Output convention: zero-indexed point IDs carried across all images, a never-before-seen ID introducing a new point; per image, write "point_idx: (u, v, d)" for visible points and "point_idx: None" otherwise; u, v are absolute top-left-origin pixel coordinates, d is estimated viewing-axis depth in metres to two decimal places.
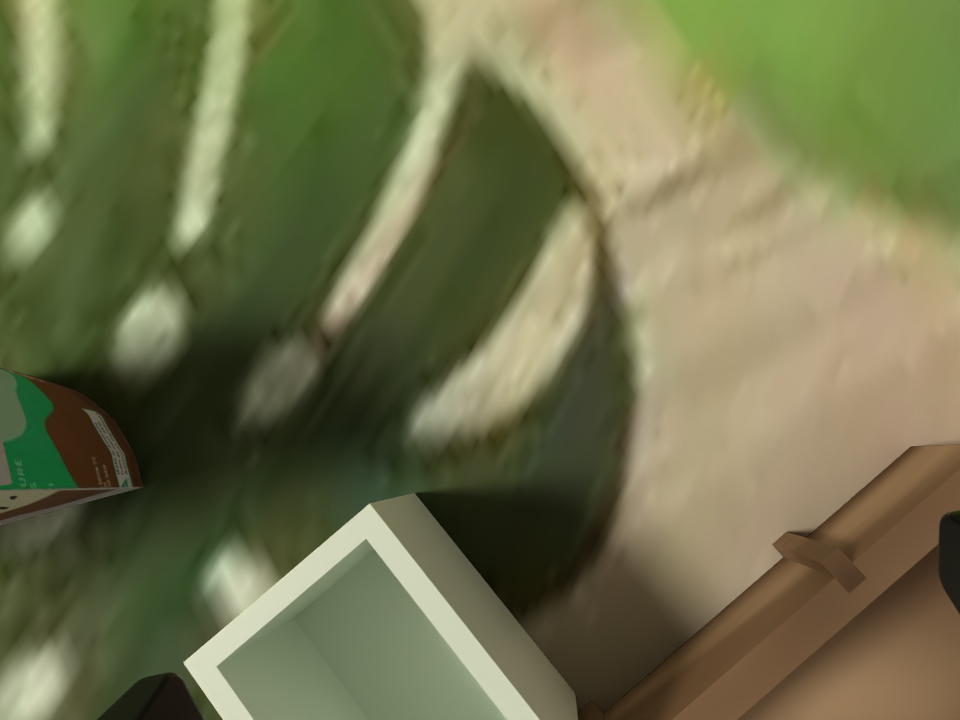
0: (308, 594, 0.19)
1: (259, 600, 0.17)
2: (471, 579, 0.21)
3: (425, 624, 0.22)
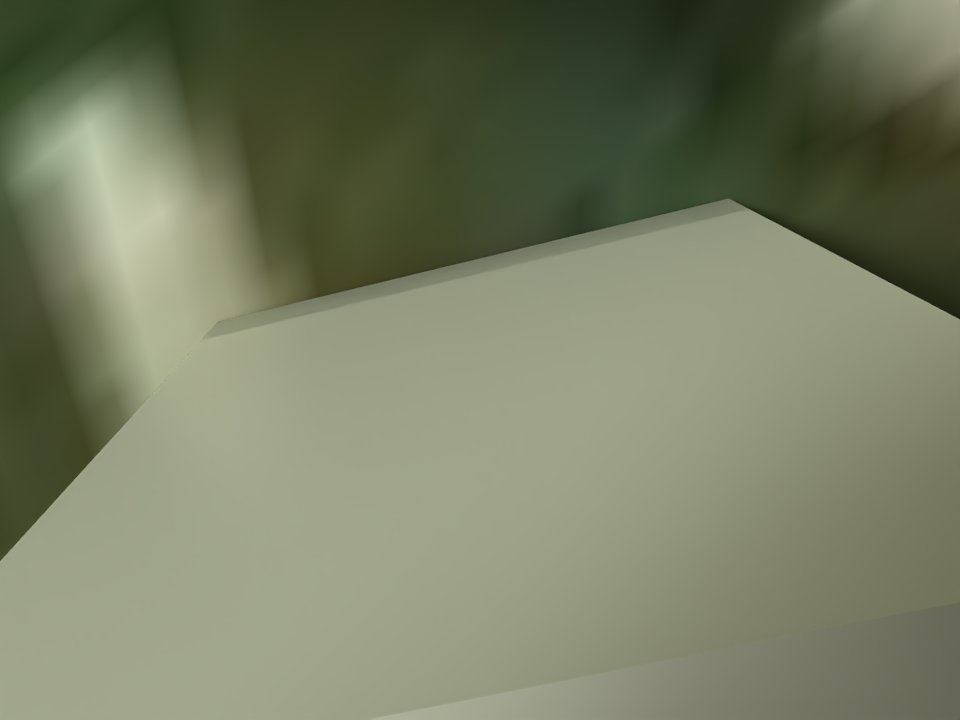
0: None
1: None
2: None
3: None
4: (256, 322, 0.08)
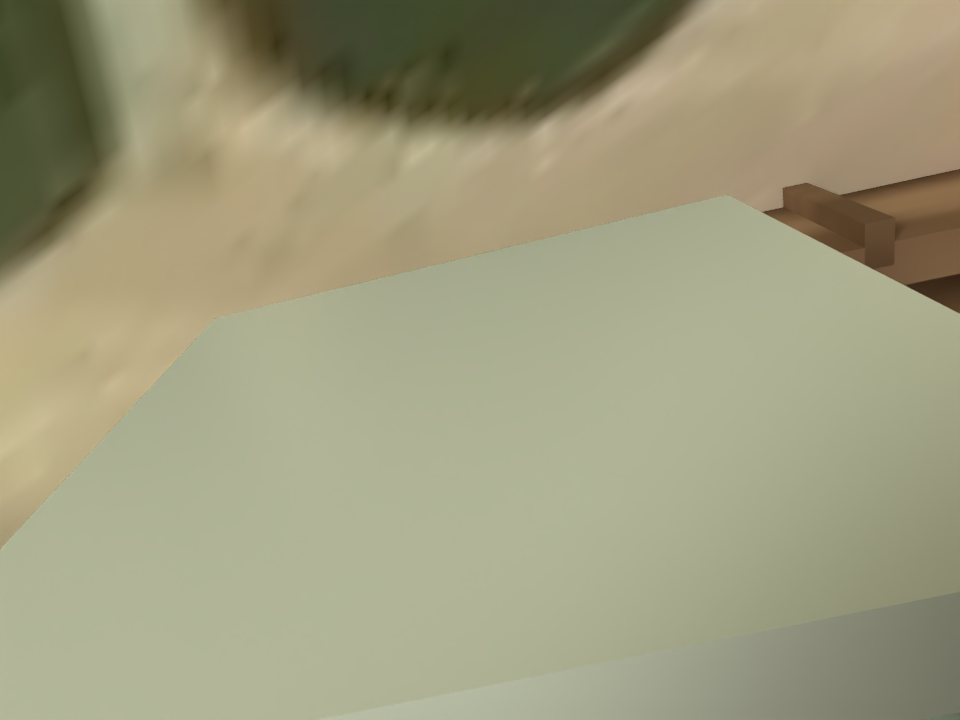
0: None
1: None
2: None
3: None
4: (253, 318, 0.08)
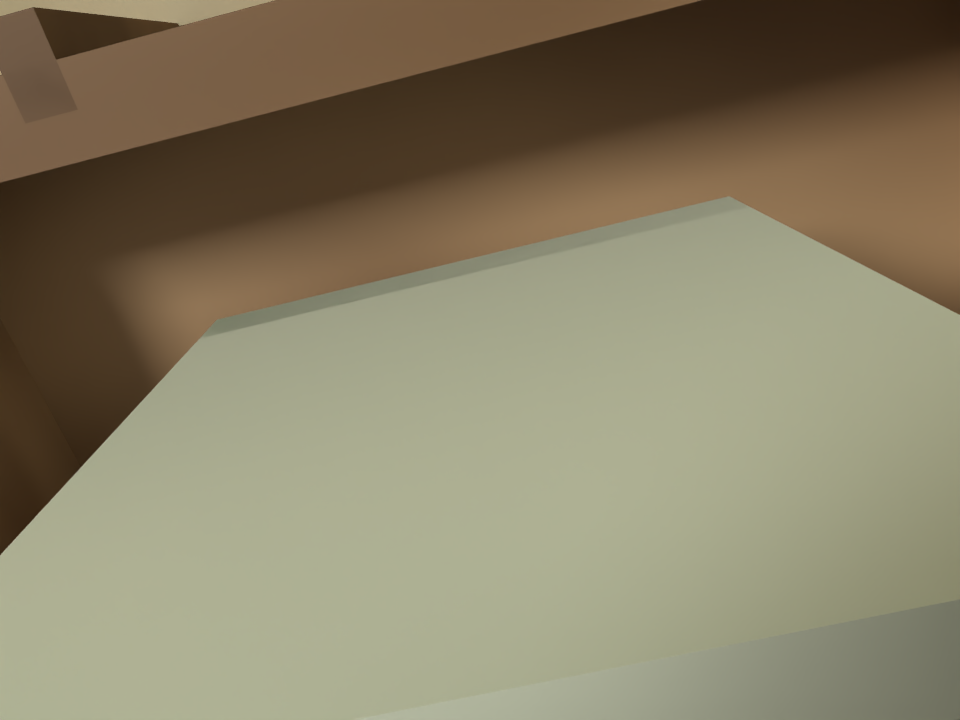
0: None
1: None
2: None
3: None
4: (255, 320, 0.08)
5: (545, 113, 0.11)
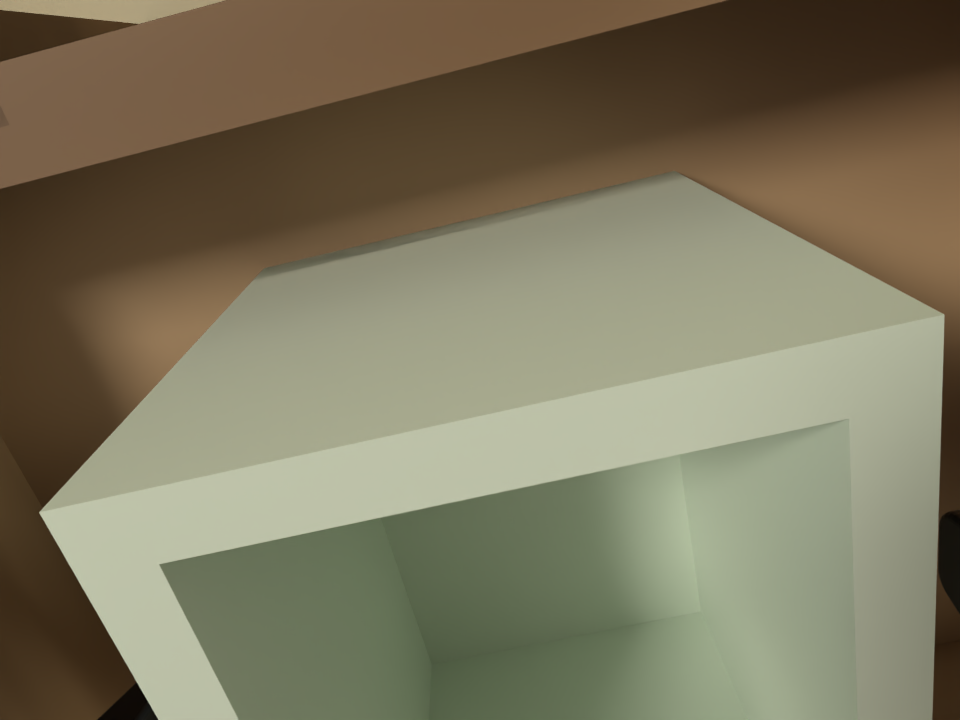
0: None
1: (386, 447, 0.05)
2: None
3: None
4: (296, 266, 0.10)
5: (552, 124, 0.10)
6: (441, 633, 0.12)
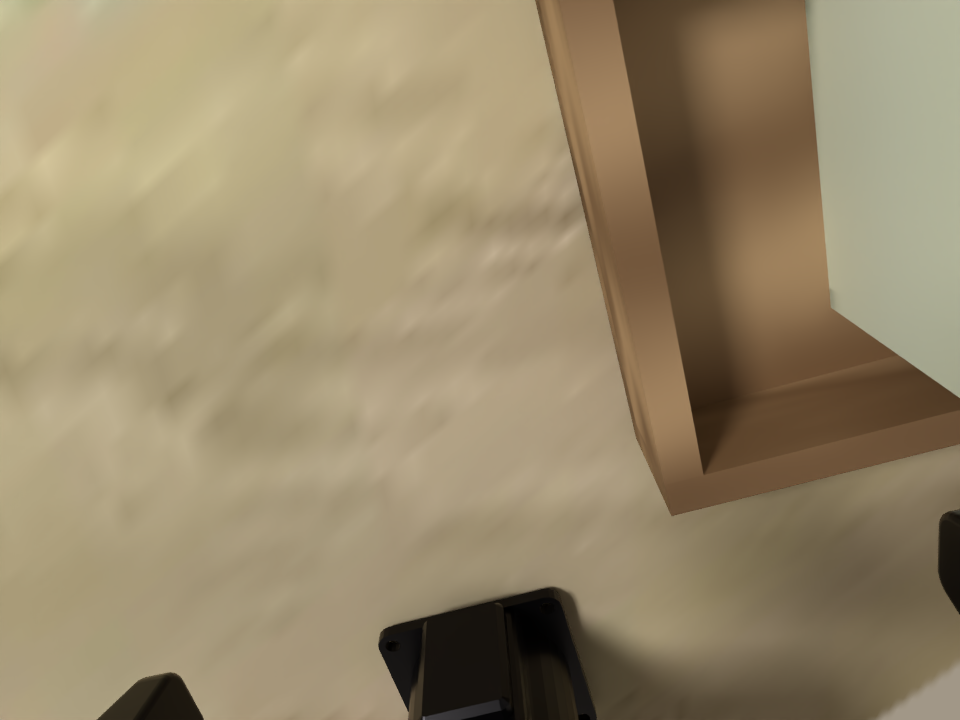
0: None
1: None
2: None
3: None
4: None
5: None
6: None
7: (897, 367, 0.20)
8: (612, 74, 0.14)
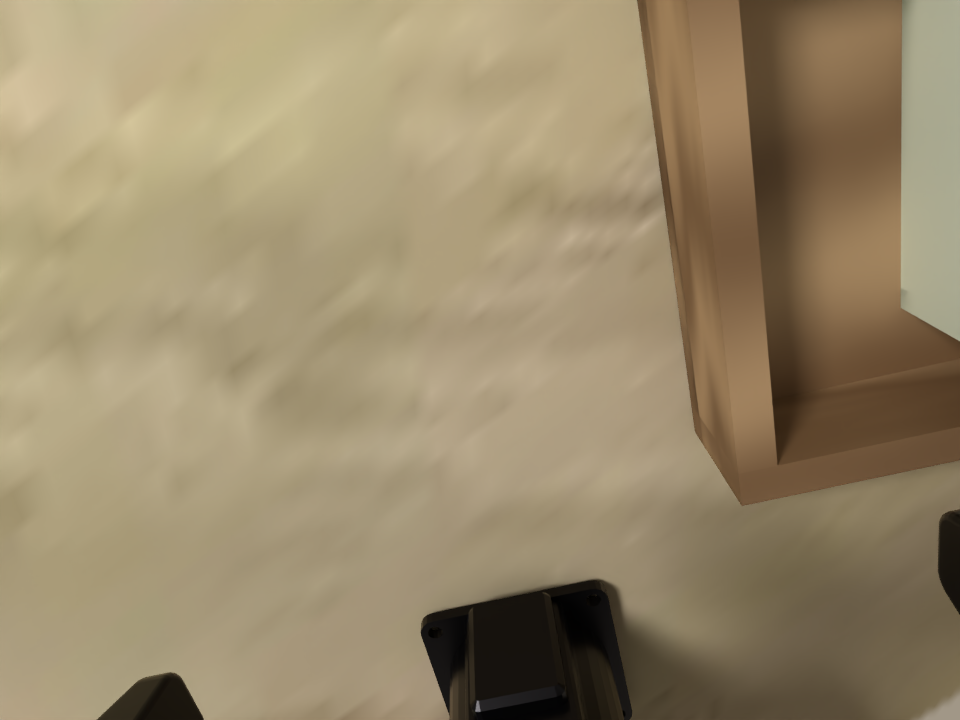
0: None
1: None
2: None
3: None
4: None
5: None
6: None
7: None
8: (729, 57, 0.14)
